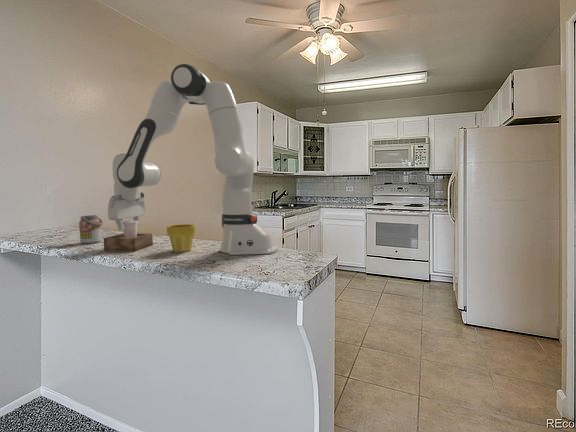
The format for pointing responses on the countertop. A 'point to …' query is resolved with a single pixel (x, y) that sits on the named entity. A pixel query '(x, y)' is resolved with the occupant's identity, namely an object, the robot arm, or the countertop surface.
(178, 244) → the plant pot
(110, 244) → the box
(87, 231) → the decorated jar
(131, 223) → the smoothie
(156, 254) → the countertop surface
